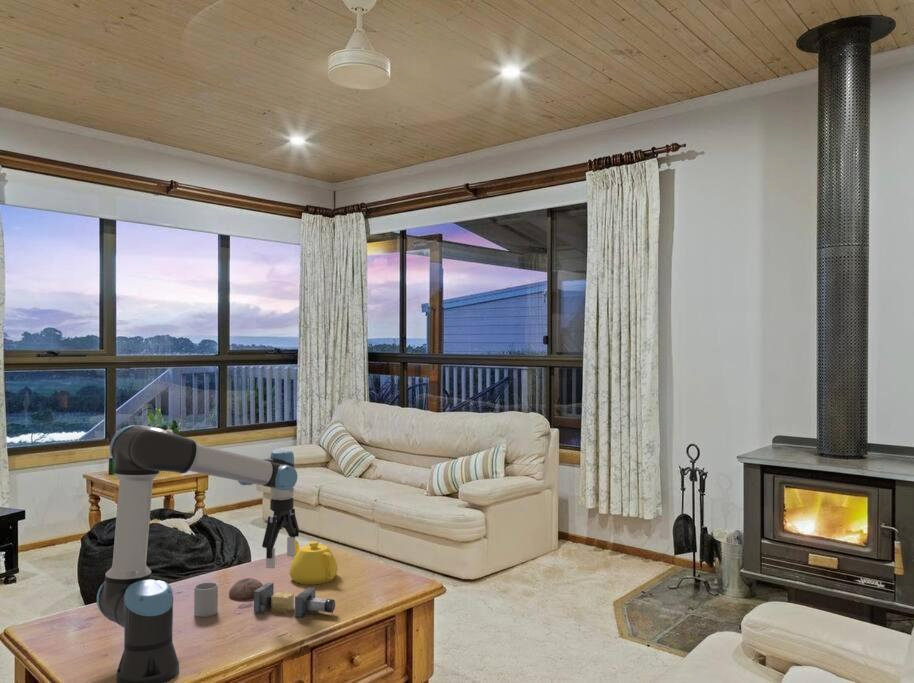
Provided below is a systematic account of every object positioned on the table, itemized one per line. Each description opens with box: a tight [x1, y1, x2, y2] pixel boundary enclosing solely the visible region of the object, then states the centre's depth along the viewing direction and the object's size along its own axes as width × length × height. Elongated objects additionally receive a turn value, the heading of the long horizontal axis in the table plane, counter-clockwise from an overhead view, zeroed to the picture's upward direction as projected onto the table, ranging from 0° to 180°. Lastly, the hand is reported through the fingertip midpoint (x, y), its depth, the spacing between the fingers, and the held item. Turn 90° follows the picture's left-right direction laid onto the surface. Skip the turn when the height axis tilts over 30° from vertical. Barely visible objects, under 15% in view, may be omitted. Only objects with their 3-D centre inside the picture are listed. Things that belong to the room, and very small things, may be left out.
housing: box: [253, 582, 316, 619], centre depth 228 cm, size 18×9×7 cm, turn 75°
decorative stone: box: [228, 577, 264, 601], centre depth 243 cm, size 12×12×6 cm
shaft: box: [306, 597, 336, 614], centre depth 225 cm, size 12×4×4 cm, turn 75°
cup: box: [193, 581, 219, 618], centre depth 226 cm, size 7×10×9 cm
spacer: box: [270, 591, 295, 614], centre depth 228 cm, size 4×6×5 cm, turn 75°
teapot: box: [289, 538, 339, 586], centre depth 262 cm, size 25×18×14 cm
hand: (281, 562), depth 228 cm, fingers open, 13 cm apart
